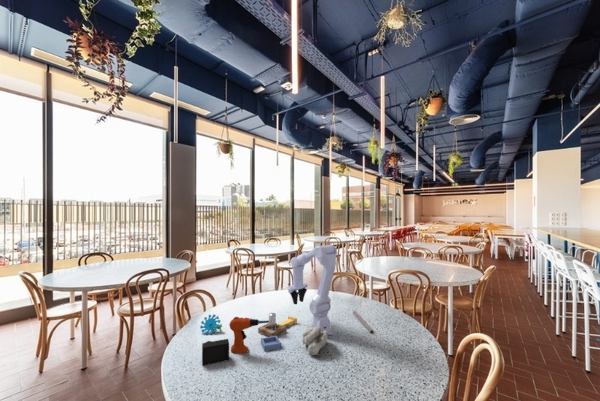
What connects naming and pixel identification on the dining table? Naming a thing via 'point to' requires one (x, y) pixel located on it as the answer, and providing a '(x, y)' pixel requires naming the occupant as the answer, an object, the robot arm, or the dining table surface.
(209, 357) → the digital camera
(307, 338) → the mineral
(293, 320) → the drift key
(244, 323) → the toy drill
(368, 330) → the metal rod
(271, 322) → the gray metallic cylinder
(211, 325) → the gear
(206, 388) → the dining table surface
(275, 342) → the tray
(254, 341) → the dining table surface
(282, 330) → the socket
